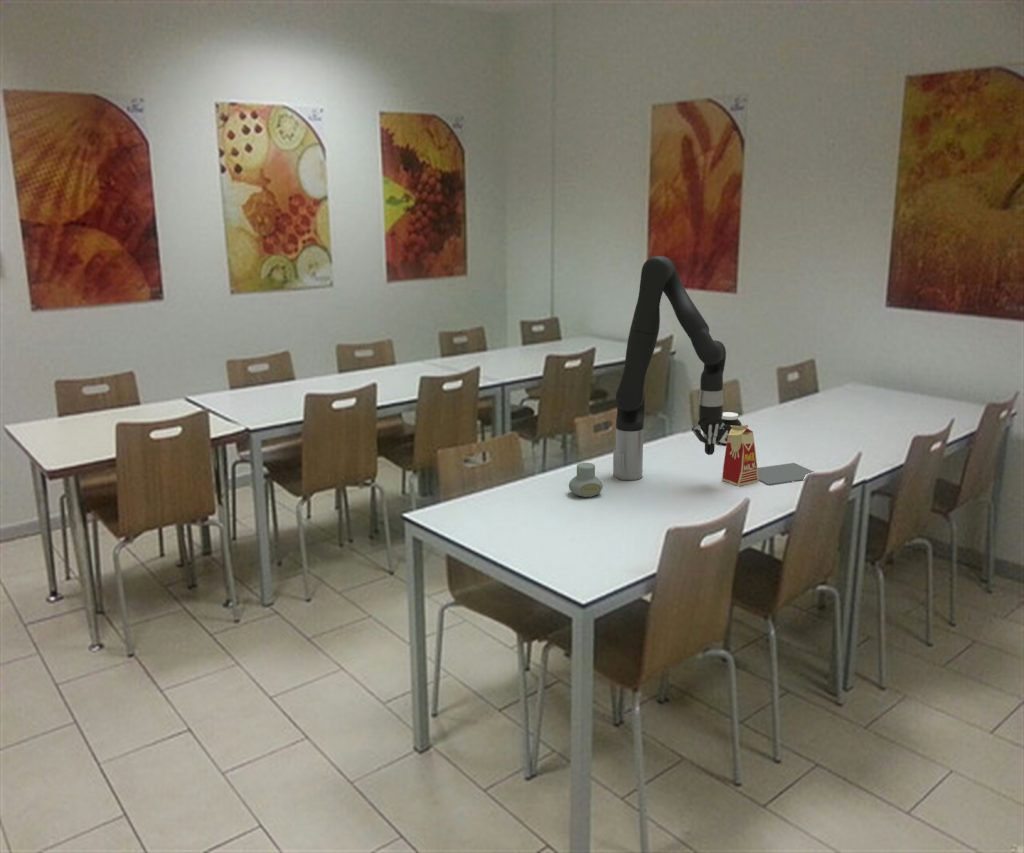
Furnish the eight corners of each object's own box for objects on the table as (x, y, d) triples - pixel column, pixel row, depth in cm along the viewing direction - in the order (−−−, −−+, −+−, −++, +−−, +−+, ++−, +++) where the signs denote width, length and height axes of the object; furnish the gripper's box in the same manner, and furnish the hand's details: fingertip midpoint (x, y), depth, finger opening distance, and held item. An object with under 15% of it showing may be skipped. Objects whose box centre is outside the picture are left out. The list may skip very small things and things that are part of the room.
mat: (768, 485, 284) (768, 484, 284) (740, 471, 298) (740, 470, 298) (823, 477, 291) (823, 476, 290) (794, 464, 305) (794, 462, 305)
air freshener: (574, 500, 274) (574, 470, 271) (565, 492, 282) (565, 463, 279) (606, 496, 277) (606, 467, 274) (596, 488, 284) (597, 459, 282)
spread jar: (712, 444, 331) (713, 415, 328) (719, 437, 340) (721, 408, 337) (743, 448, 325) (745, 418, 322) (750, 440, 335) (752, 411, 332)
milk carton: (758, 481, 288) (762, 424, 283) (739, 486, 283) (742, 428, 278) (738, 474, 295) (741, 418, 290) (718, 479, 291) (721, 422, 285)
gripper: (699, 407, 273) (697, 459, 277) (735, 403, 277) (733, 454, 281) (687, 402, 280) (685, 453, 284) (722, 398, 284) (720, 448, 288)
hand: (709, 454), depth 283 cm, fingers closed
